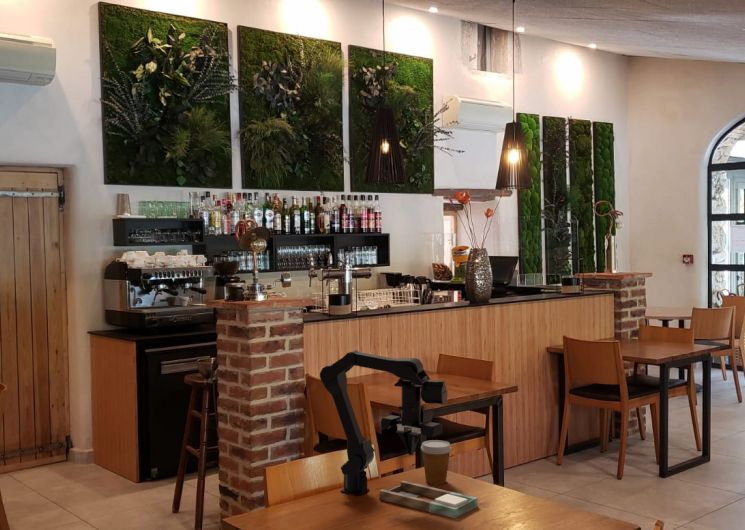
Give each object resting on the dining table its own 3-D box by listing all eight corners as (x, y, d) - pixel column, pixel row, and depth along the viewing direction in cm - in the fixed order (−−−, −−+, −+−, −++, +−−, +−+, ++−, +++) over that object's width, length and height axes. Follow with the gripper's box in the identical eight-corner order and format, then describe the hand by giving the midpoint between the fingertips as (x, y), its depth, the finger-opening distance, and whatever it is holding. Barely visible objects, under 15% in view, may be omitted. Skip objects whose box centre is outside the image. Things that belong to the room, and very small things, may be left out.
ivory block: (434, 511, 230) (434, 499, 230) (447, 505, 234) (447, 493, 234) (454, 517, 225) (455, 504, 225) (467, 511, 230) (467, 499, 229)
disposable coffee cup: (449, 487, 250) (449, 448, 249) (418, 485, 252) (418, 446, 251) (452, 477, 259) (452, 440, 259) (423, 476, 261) (423, 439, 261)
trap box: (379, 499, 239) (379, 490, 239) (403, 488, 249) (403, 480, 248) (455, 518, 223) (455, 509, 223) (477, 506, 233) (477, 497, 233)
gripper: (453, 401, 239) (452, 454, 240) (401, 393, 250) (401, 443, 251) (432, 408, 230) (431, 462, 231) (379, 399, 241) (379, 451, 242)
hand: (411, 454), depth 239 cm, fingers closed
